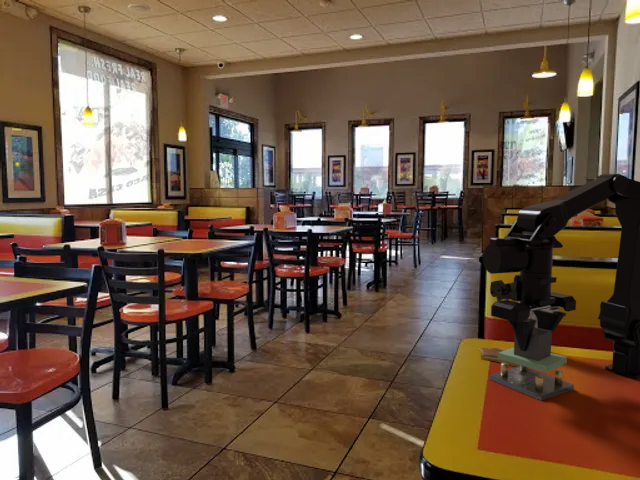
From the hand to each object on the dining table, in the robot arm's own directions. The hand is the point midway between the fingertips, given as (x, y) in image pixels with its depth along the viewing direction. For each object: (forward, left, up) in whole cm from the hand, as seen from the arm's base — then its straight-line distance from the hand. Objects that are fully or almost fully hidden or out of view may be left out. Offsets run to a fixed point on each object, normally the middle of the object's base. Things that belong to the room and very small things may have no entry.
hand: (532, 348), depth 98 cm
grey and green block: (0, 0, -2) cm, 2 cm away
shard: (-8, -13, -8) cm, 17 cm away
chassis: (0, 0, -7) cm, 7 cm away
